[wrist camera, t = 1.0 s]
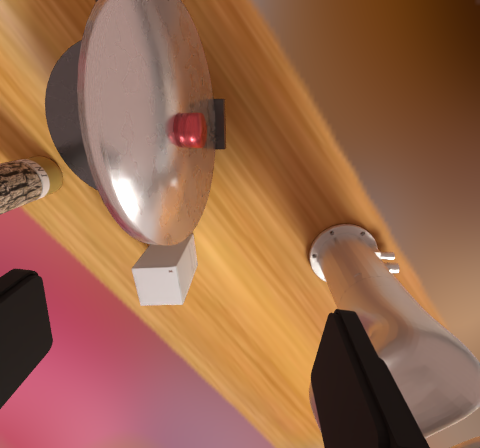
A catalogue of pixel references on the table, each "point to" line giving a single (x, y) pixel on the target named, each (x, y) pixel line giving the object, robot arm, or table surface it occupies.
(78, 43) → the pressure cooker pot
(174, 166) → the cooker lid
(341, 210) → the table surface
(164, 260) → the supplement box
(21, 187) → the brown cylindrical piece
